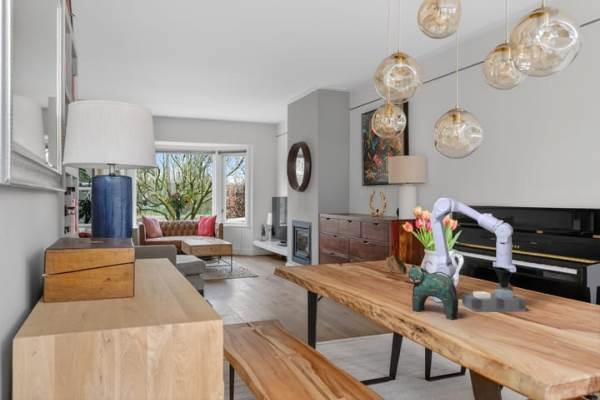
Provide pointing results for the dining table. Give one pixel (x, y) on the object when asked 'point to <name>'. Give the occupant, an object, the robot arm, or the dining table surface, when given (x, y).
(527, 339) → the dining table surface
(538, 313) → the dining table surface
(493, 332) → the dining table surface
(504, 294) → the slate key
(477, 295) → the white block
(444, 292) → the ceramic cat
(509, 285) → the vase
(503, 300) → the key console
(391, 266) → the decorative rock
